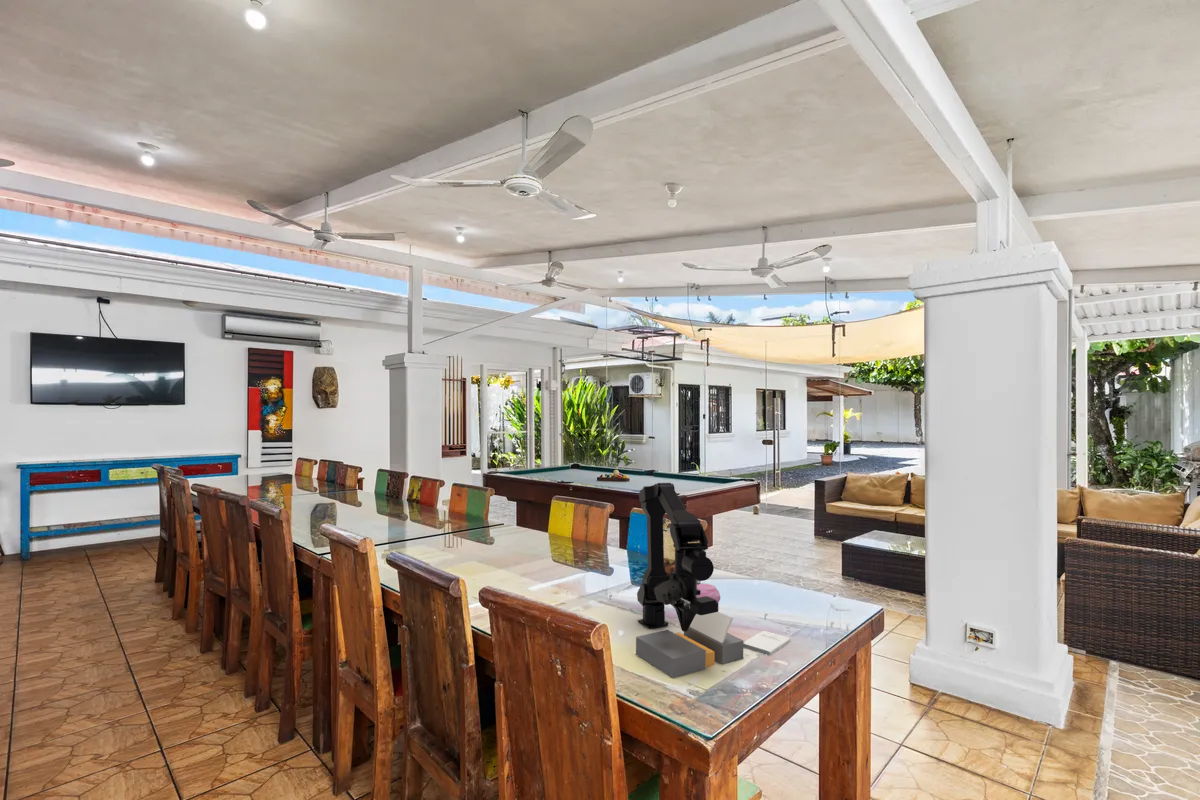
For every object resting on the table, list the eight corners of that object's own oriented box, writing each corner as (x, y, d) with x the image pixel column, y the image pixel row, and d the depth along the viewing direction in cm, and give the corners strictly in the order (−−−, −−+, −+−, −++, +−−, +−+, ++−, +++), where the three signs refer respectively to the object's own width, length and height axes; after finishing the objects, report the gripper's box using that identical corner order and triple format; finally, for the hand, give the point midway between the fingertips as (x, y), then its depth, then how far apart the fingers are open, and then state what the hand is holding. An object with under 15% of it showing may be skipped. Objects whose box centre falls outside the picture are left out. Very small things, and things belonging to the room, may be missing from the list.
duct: (635, 654, 156) (636, 636, 156) (703, 637, 167) (703, 621, 167) (672, 678, 143) (672, 658, 143) (743, 658, 155) (743, 640, 154)
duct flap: (692, 599, 165) (693, 600, 165) (682, 622, 163) (683, 623, 164) (731, 617, 152) (733, 618, 153) (721, 642, 151) (722, 643, 151)
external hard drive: (741, 648, 162) (762, 635, 171) (770, 657, 156) (790, 643, 166) (741, 642, 162) (762, 629, 171) (770, 651, 156) (790, 637, 166)
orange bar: (668, 634, 161) (678, 632, 163) (668, 648, 161) (678, 645, 163) (703, 654, 149) (714, 651, 151) (703, 668, 149) (714, 665, 151)
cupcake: (721, 623, 179) (722, 589, 179) (691, 622, 179) (692, 587, 179) (717, 612, 187) (718, 580, 187) (689, 611, 188) (689, 578, 188)
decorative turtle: (660, 576, 224) (662, 554, 225) (701, 584, 220) (703, 561, 220) (654, 582, 215) (656, 559, 215) (697, 590, 210) (699, 567, 211)
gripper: (638, 564, 158) (636, 624, 158) (684, 583, 142) (683, 651, 142) (672, 559, 164) (671, 617, 164) (720, 577, 148) (719, 641, 148)
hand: (684, 631), depth 154 cm, fingers closed
